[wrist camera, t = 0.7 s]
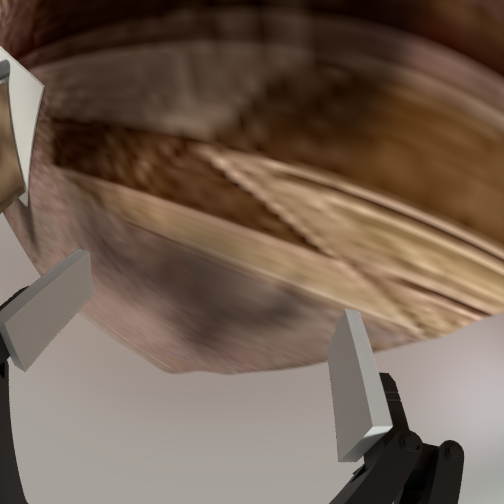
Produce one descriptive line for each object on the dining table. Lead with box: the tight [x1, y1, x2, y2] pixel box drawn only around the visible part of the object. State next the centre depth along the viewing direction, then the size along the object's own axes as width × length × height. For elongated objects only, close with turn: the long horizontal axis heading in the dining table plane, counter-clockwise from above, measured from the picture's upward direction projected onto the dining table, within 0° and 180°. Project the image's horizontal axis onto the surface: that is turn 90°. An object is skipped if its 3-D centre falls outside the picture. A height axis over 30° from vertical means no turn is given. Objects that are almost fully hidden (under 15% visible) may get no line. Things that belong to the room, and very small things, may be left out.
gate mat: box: [0, 47, 45, 207], centre depth 27 cm, size 24×14×1 cm, turn 141°
